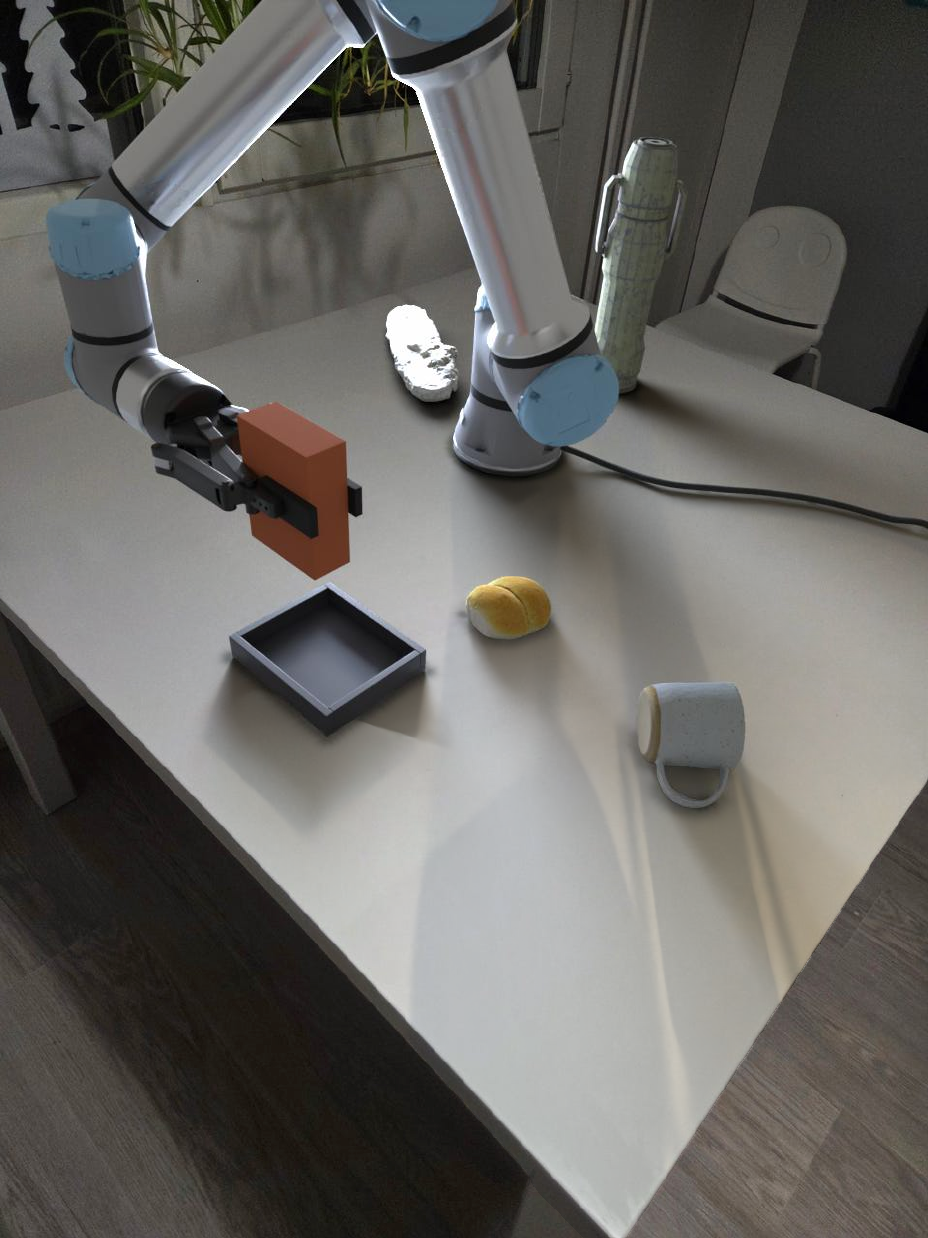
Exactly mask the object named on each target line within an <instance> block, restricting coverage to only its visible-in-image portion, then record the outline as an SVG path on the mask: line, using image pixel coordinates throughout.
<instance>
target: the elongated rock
mask: <svg viewBox="0 0 928 1238" xmlns="http://www.w3.org/2000/svg"><path fill="white" fill-rule="evenodd" d="M385 325H386V329H387V332H386V334H385V338H386V339H387V341H389V344H390V345H389V346H390V353H391V356H392V357H393V361H394V368H395V370H397V372H398V373H399V376H401V378H402V380H403V382H404V384H405V387H406V388H407V390H408V391H409V392H410V393H411V395H413V396H415V397H416V398H417V399H419V400H421V401H422V402H426V403H427V402H428V403H429V402H439V401H440V402H441V401H445V400H449V399H450V398H451V394H452V391H453V392H456V391H457V389H458V387H459V384H458V383H459V380H460V372H459V370H458V369H457V364H456V363H457V362H456V358H457V357H458V356H459V351H458V349H457V348H456V347H455V346H452V345H449V344H444V343H442V339H441V337H440V334H439V331H438V328H436V325H435V323H434V321H433V319H430V318H429V316H428V315H427V311H426V309H422V308H421V307H419V306H416V305H408V304H404V305H402V306H401V305H400V306H397V307H395V308H394V309H392V310H391V311H390V312H389V313H388V315H387V318H386V322H385Z"/></svg>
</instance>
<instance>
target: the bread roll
mask: <svg viewBox="0 0 928 1238" xmlns="http://www.w3.org/2000/svg"><path fill="white" fill-rule="evenodd" d="M551 614H552V604H551V601H550V598H549V595H548V593H547V591H546V590H545V589H544V588H543V587H542V586H541V585H540V584H539V583H538V582H537V581H535V580H533V579H532V578H528V577H525V576H501V577H498V578H496V579H494V580H492V581H490V582H489V583H488V584H481V585H477V586H476V587H474V588H473V590H472V591H470V592H469V594H468V595H467V598H466V601H465V615H466V617H467V618H468V620H469V621H470V623H471V624H472V626H473V627H474V628H475V629H476V630H477V631H478V632H480V634H482V635H484V636H485V637H488V638H491V639H497V640H515V639H518V638H521V637H524V636H527V635H529V634H530V633H535V632H537V631H539V630H542V629H543V628H545V627H546V626H547V625H548V624H549V622H550V620H551Z"/></svg>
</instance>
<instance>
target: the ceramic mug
mask: <svg viewBox="0 0 928 1238" xmlns="http://www.w3.org/2000/svg"><path fill="white" fill-rule="evenodd" d="M744 707H745V706H744V703H743V698H742V695H741V692H740V691H739V689H738V687H737V686H736V684H735V683H734V682H731V681H711V682H710V681H702V682H701V681H700V682H699V681H698V682H697V681H696V682H693V681H691V682H659V683H656V684H650V685H648V686H646V687H645V688H643V689H642V691H641V692H640V694H639V697H638V702H637V708H636V736H637V737H636V738H637V743H638V748H639V751H640V754H641V755H642V758H644V760H646V761H647V762H650V763H654V764H655V765H656V777H657V780H658V783H659V786H660V788H661V791H663V793H664V795H665V796H666V797H667V798H668V799H669V800H671V802H674V803H675V804H677V805H679V806H682V807H684V808H685V807H686V808H691V809H701V808H704V807H707V806H709V805H711V804H713V803H714V802H716V801H717V800H718V799H719V798H720V797H721V796H722V794H723V793H724V791H725V789H726V786H727V782H728V779H729V778H728V777H729V771H730V770H733V769H735V768H736V767H737V766H738V765H739V763H740V761H741V759H742V757H743V752H744V749H745V741H746V715H745V708H744ZM665 766H670V767H671V766H672V767H691V768H692V767H693V768H702V769H713V770H714V769H715V770H719V772H720V773H719V780H718V781H719V782H718V785H717V788H716V790H715V792H714V793H712V794H711V795H710V796H709V797H708V798H706V799H695V798H690V797H688V796H686V795H685V794H683V793H679V792H678V791H677V790H674V789H673V787H671V784H670V783H669V781H668V780H667V775H666V771H665Z"/></svg>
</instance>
